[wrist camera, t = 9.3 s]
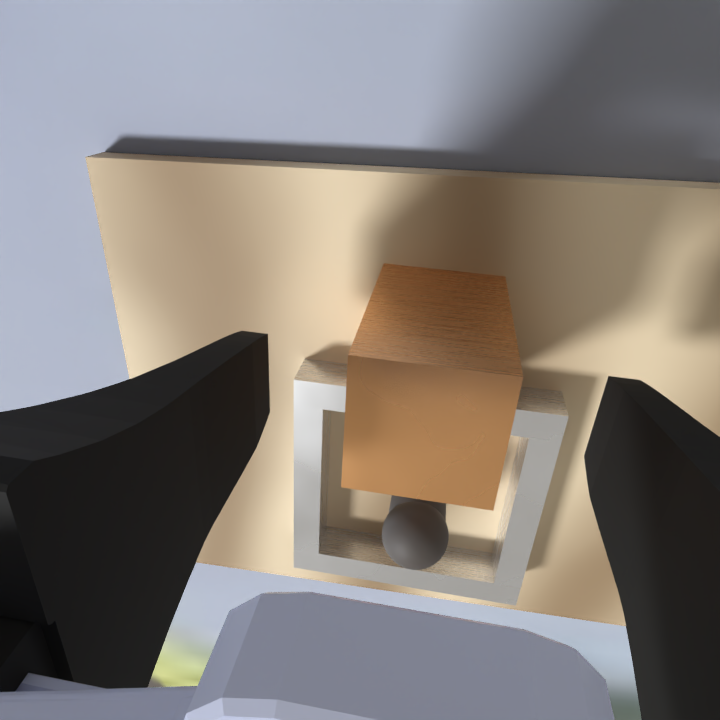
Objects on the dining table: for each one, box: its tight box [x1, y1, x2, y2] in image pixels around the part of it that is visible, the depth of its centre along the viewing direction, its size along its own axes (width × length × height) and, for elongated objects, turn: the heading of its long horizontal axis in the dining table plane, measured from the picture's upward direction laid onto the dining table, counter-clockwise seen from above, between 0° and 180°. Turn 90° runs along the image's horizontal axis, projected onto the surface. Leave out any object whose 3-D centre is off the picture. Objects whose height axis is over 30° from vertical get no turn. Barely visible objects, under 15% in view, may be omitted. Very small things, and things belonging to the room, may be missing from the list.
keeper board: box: [86, 152, 720, 626], centre depth 15 cm, size 18×14×4 cm
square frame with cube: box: [294, 263, 569, 606], centre depth 14 cm, size 10×7×5 cm
